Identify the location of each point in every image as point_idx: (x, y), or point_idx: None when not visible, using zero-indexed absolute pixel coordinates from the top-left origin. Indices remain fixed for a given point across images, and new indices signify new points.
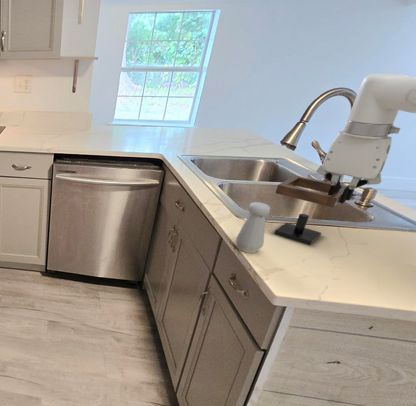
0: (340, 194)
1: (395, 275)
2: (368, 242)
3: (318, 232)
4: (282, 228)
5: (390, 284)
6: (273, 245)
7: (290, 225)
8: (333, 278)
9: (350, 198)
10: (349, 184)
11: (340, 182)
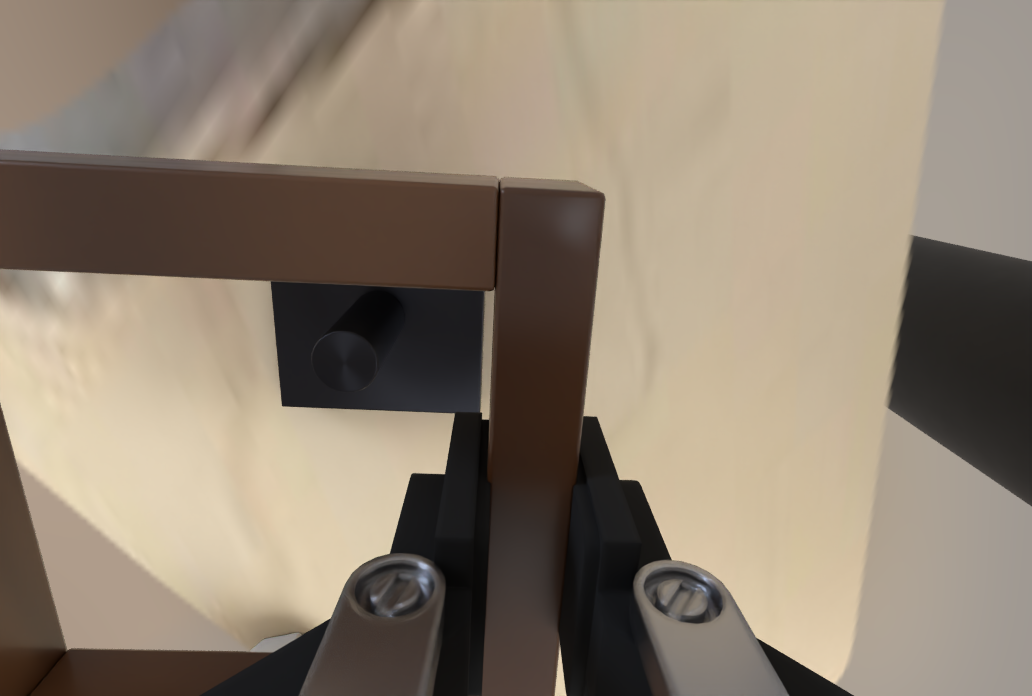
0: (544, 674)
1: (835, 451)
2: (735, 60)
3: None
4: (295, 344)
5: (810, 553)
6: (354, 540)
7: None
8: None
9: (636, 487)
10: (606, 638)
11: (469, 625)
